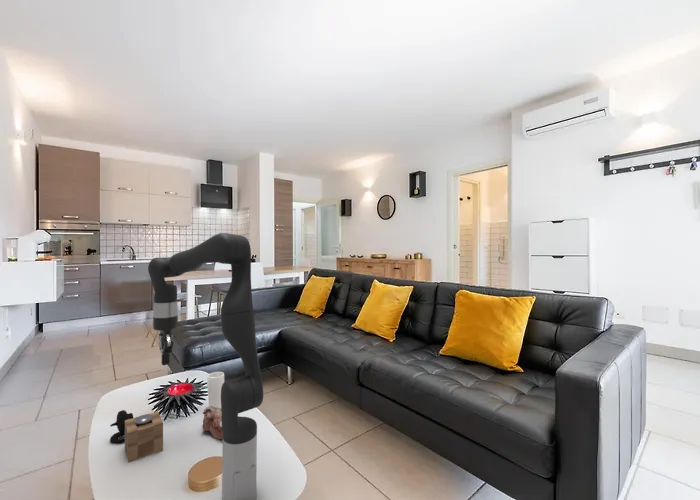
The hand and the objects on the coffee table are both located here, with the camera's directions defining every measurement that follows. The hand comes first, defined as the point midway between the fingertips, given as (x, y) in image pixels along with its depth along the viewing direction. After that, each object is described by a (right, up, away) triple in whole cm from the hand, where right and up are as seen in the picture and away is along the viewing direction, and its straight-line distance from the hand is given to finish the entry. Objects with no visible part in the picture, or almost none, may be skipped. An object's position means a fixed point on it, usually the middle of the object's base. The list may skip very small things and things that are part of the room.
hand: (165, 364), depth 114 cm
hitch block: (-7, -29, -1) cm, 30 cm away
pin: (-7, -28, -1) cm, 29 cm away
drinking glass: (+7, -29, +27) cm, 40 cm away
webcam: (-18, -29, +5) cm, 35 cm away
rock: (+15, -29, +10) cm, 34 cm away
